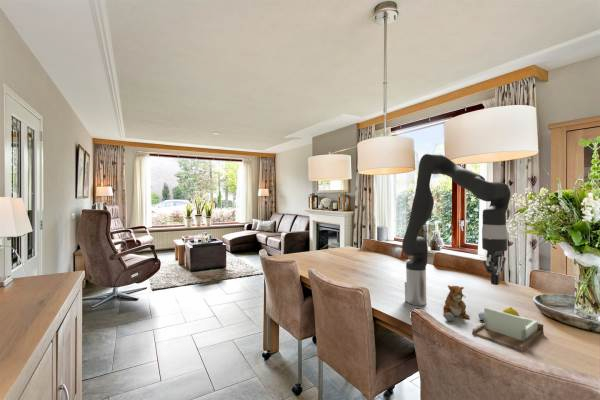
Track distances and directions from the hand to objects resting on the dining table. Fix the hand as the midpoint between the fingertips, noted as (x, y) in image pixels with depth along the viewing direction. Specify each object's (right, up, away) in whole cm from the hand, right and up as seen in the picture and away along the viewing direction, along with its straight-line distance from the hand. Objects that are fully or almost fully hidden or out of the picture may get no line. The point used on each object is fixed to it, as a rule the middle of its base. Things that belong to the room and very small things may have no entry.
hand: (495, 284), depth 102 cm
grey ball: (-7, -21, +18) cm, 29 cm away
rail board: (+9, -21, +6) cm, 23 cm away
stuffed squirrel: (0, -21, +26) cm, 34 cm away
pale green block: (+11, -20, +7) cm, 24 cm away
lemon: (+11, -19, +7) cm, 24 cm away
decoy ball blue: (+7, -21, +18) cm, 29 cm away
